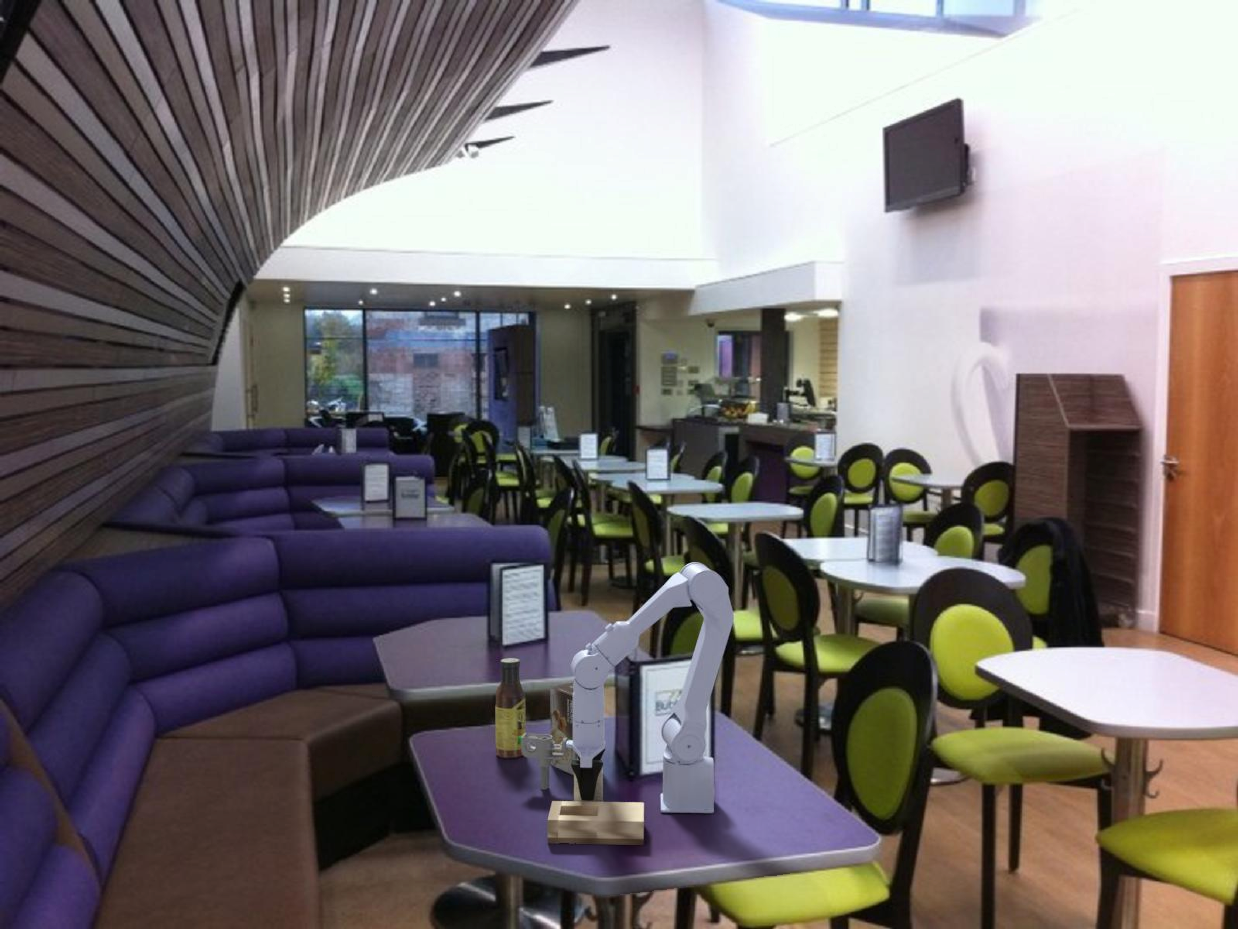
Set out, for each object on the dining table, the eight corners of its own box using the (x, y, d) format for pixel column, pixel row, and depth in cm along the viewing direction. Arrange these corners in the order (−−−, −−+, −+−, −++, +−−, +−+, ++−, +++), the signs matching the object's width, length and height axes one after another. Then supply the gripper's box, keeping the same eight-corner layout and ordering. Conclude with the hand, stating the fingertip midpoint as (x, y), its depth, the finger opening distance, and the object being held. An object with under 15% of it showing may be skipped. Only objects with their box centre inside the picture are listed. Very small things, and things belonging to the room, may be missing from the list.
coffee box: (602, 770, 206) (602, 691, 204) (576, 778, 201) (576, 697, 200) (573, 758, 213) (573, 681, 211) (548, 765, 208) (548, 687, 207)
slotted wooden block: (643, 825, 180) (643, 802, 179) (643, 845, 172) (643, 821, 171) (552, 823, 180) (552, 801, 180) (547, 843, 172) (547, 820, 172)
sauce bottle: (523, 760, 211) (523, 664, 210) (493, 760, 211) (492, 664, 210) (527, 749, 218) (526, 656, 216) (497, 749, 218) (497, 656, 216)
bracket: (602, 808, 187) (602, 760, 186) (602, 814, 184) (602, 765, 183) (575, 808, 187) (575, 759, 186) (574, 814, 184) (574, 764, 184)
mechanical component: (568, 793, 194) (568, 741, 193) (516, 789, 196) (516, 737, 195) (572, 787, 197) (572, 736, 196) (521, 783, 199) (521, 732, 198)
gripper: (569, 706, 192) (569, 777, 193) (562, 731, 177) (562, 808, 178) (607, 706, 191) (607, 778, 192) (603, 732, 177) (603, 809, 178)
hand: (588, 792), depth 185 cm, fingers open, 6 cm apart
